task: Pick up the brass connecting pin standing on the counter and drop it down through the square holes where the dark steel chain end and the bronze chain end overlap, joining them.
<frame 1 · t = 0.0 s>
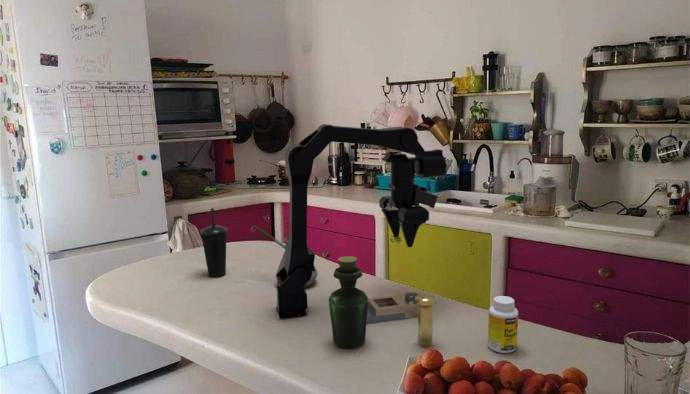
hand: (402, 242, 124), 15 cm above the counter, tool pointing down, fingers open, 9 cm apart
potion bottle: (349, 342, 105), on the counter
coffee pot: (283, 281, 141), on the counter
chain ends: (385, 314, 117), on the counter
supplement bottle: (502, 348, 101), on the counter
drinking cup: (217, 275, 147), on the counter
pin: (425, 343, 103), on the counter
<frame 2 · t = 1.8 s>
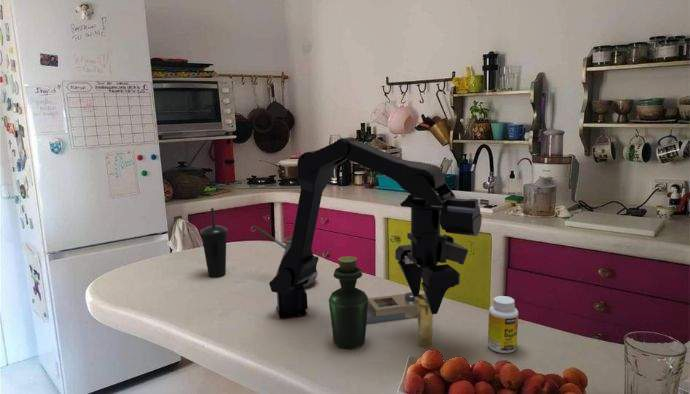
hand: (424, 304, 101), 8 cm above the counter, tool pointing down, fingers open, 9 cm apart
nothing on the counter moved.
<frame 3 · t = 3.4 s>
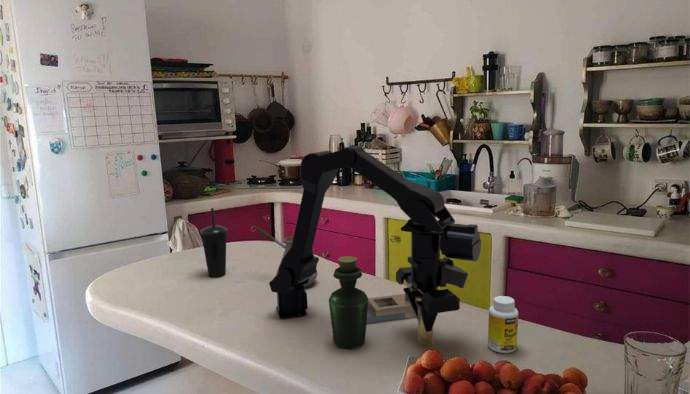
hand: (425, 327, 102), 4 cm above the counter, tool pointing down, fingers closed on pin, 3 cm apart
pin: (425, 343, 103), on the counter, touching gripper
everything else where it was.
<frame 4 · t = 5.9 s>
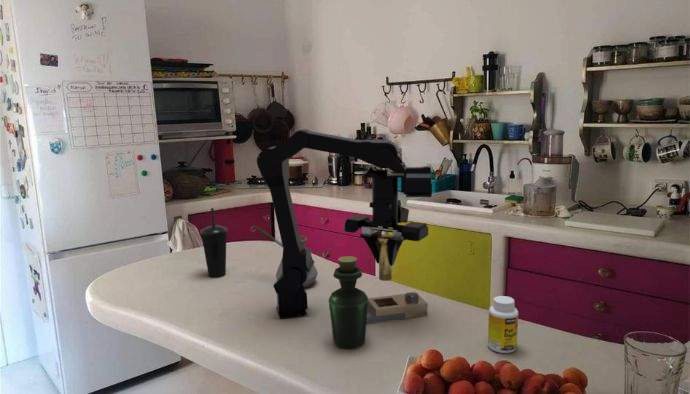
hand: (385, 264, 115), 12 cm above the counter, tool pointing down, fingers closed on pin, 3 cm apart
pin: (385, 278, 116), point 9 cm above the counter, touching gripper
everything else where it was.
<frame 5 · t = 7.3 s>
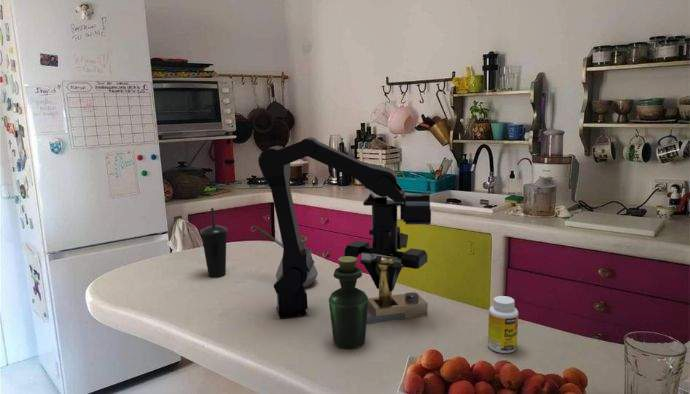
hand: (385, 289, 116), 6 cm above the counter, tool pointing down, fingers closed on pin, 3 cm apart
pin: (385, 303, 117), point 3 cm above the counter, touching gripper
everything else where it was.
when the fingers open (4 cm above the counter, at t = 8.4 s): pin stays where it is, resting in chain ends.
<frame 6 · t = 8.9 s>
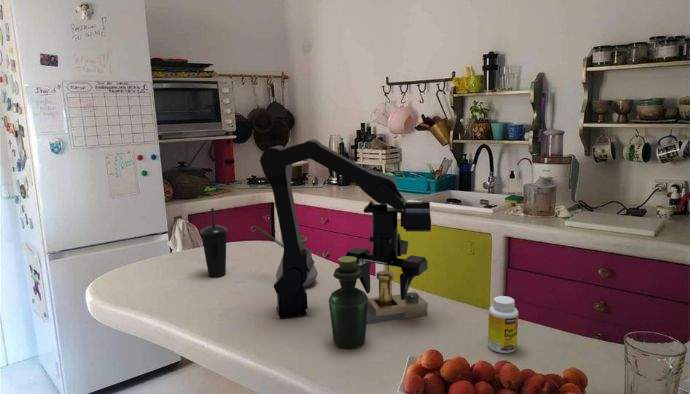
hand: (385, 296, 117), 4 cm above the counter, tool pointing down, fingers open, 9 cm apart
pin: (385, 314, 117), resting in chain ends
everything else where it was.
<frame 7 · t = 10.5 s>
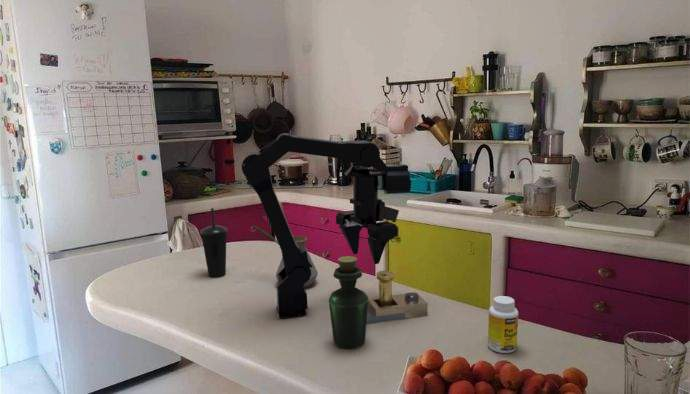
hand: (365, 258, 120), 12 cm above the counter, tool pointing down, fingers open, 9 cm apart
nothing on the counter moved.
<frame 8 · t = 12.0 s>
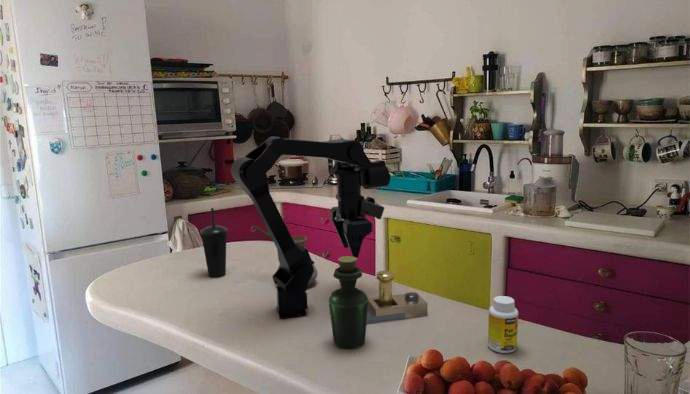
hand: (350, 252, 125), 12 cm above the counter, tool pointing down, fingers open, 9 cm apart
nothing on the counter moved.
at the end: pin 0.1 cm off-centre on the chain ends, point 0.0 cm above the chain ends's base; pin tilted 0°; the gripper is holding nothing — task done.
